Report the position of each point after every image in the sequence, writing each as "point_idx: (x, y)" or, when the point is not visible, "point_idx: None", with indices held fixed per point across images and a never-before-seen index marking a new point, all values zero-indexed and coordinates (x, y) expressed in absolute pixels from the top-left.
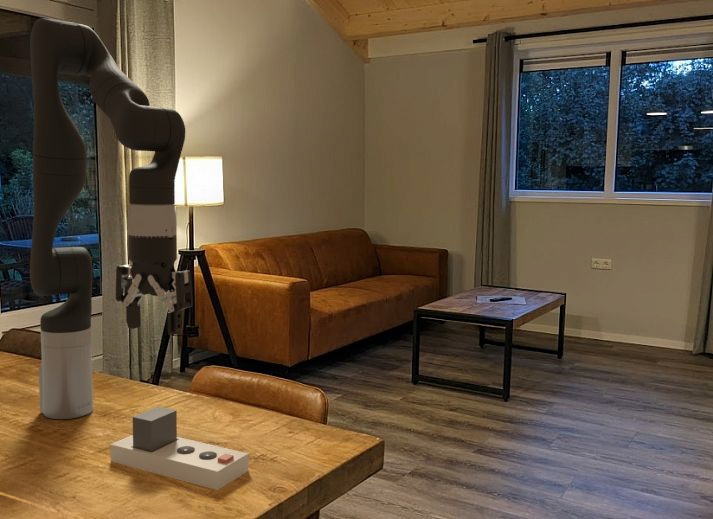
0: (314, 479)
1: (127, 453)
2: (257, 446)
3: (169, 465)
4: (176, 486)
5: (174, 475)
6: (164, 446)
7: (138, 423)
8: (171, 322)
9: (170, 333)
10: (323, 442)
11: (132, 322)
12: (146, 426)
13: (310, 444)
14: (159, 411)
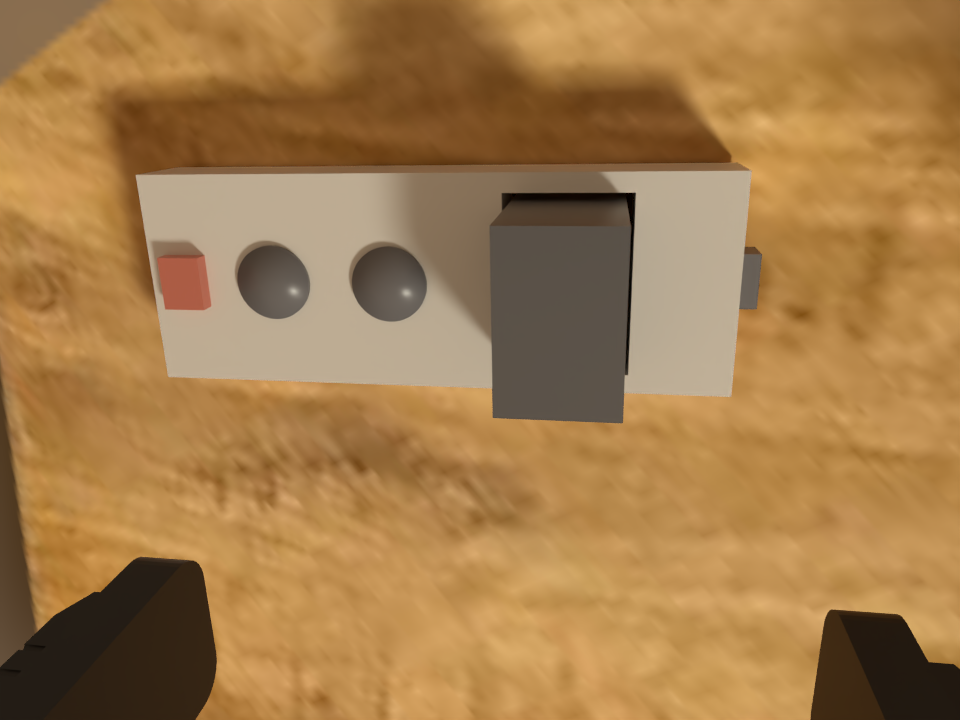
0: (6, 405)
1: (635, 169)
2: (333, 551)
3: (388, 170)
4: (333, 124)
5: (372, 166)
6: None
7: (585, 220)
8: (49, 662)
9: (145, 558)
10: None
11: (849, 683)
12: (528, 219)
13: None
14: (561, 365)
